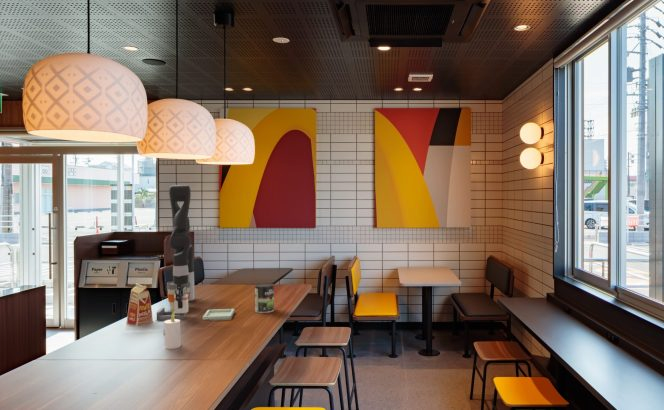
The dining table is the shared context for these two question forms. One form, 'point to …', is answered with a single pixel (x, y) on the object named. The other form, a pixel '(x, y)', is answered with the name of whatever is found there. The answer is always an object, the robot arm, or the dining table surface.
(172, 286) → the reusable coffee cup
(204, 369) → the dining table surface
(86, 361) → the dining table surface
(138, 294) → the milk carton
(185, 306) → the white banded brick
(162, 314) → the grey holder
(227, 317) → the tray
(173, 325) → the candle
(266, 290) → the coffee can
